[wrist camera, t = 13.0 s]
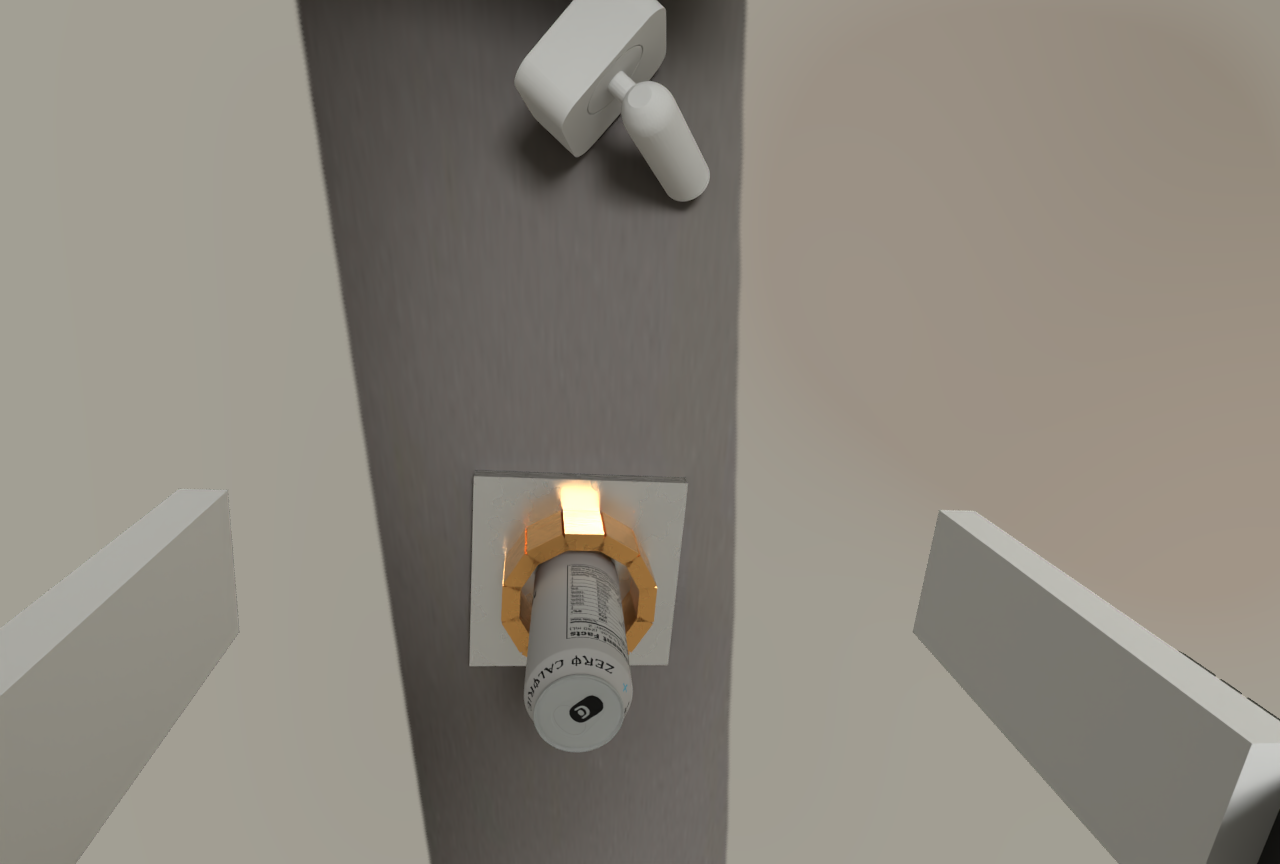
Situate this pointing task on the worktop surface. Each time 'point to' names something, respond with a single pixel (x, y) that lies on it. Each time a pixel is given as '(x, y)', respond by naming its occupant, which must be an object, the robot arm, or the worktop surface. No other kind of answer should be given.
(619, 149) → the worktop surface
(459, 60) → the worktop surface
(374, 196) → the worktop surface
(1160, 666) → the robot arm
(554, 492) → the keeper
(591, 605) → the energy drink can
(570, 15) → the wall hook
